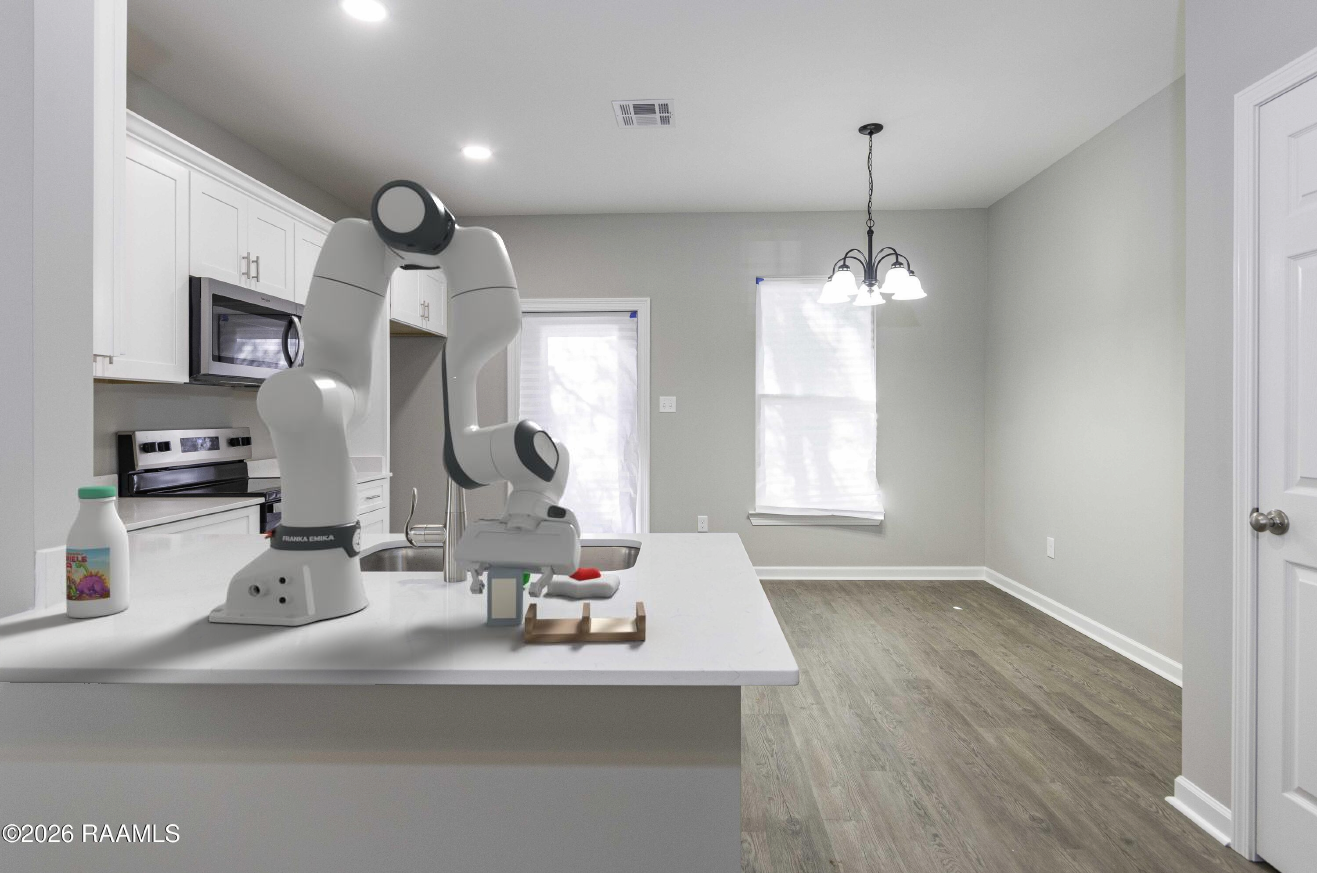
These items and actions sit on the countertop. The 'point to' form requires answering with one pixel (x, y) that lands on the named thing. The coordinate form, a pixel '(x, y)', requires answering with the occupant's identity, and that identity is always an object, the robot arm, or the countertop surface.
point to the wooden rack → (584, 627)
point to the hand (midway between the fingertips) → (504, 594)
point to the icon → (584, 584)
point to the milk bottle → (97, 557)
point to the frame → (504, 597)
